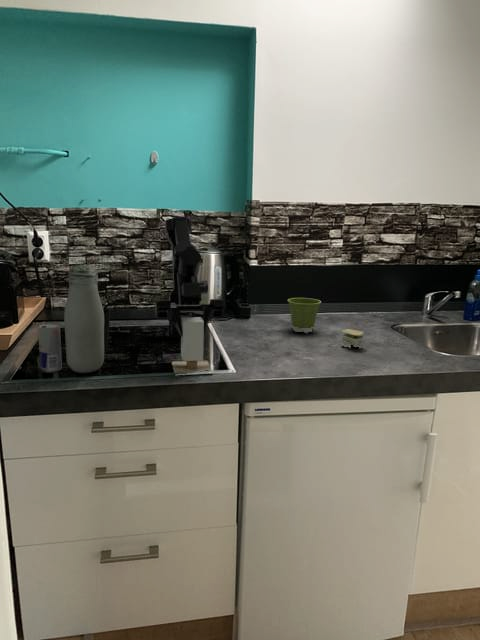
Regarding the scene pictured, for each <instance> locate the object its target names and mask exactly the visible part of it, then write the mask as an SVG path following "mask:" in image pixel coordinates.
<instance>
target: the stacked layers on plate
mask: <svg viewBox="0 0 480 640" xmlns="http://www.w3.org/2000/svg"><path fill="white" fill-rule="evenodd" d="M342 332H343V333H342V334H341V335H340V336H341V337H342V339H341V341H346V342H350V343H351V344H352V345H355V346H356V345H359V343H361V342H363V339H364V331H362V330H361V331H360V330H355V329H351V328H347V329H344V330H342Z"/></svg>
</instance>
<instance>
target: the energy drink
mask: <svg viewBox="0 0 480 640" xmlns="http://www.w3.org/2000/svg"><path fill="white" fill-rule="evenodd" d="M37 333H38V346H39V348H38V349H39V363H40V365H39V366H40V370H41V372H42V373H50V374H51V373H56V372H57V373H58V372H60V371H61V370H62V369H63V363H62V362H63V360H62V359H63V358H62V342H61V339H62V338H61V327H60V325H59V324H58V323H43V324H40V325H38V331H37Z"/></svg>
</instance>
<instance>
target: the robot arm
mask: <svg viewBox="0 0 480 640" xmlns="http://www.w3.org/2000/svg"><path fill="white" fill-rule="evenodd" d="M192 227H193V226H192V220H191V219H189V217H187V216H177V215H176V216H172V217H171V218H168V219H165V222H164V233H165V234H166V237H167V238H166V239H167V241H168V242H169V244H170V246H171V252H172V255H171V257H172V258H171V261H172V262H171V263H172V264H171V265H172V288H173V289H172V292H171V293H170V295H169V298H168V299H157V300H156V301H155V309H154V310H155V312H154V313H155V318H156V319H166V320H167V321H168V334H167V335H166V338H169V337H173V338H172V339H176V338H181V337H182V336H183V330H182V324H181V317H195V313H199V312H200V313H202V317H201V318H202V320H203V321H204V335H205V333H206V330H207V325H208V323H209V321H212V320H213V319H214V318H215V319H216V318H223V317H224V313H225V310H226V302H225V300H224V299H222V298H210V300H209V303H206V304H203V303H202V304H201V302H202V300H203V299H202V296H203V294H208V292H209V283H208V280H200V282H199V280H198V279H199V278H198V275H199V273H200V269H201V265H202V264H204V263H203V261H204V259H203V258H202V254H201V253H200V252H199V251H198V250H197V247H196V246H195V245H194V244H192V242H191V241H192V240H191V236H190V234H191V233H192V232H193V230H192V229H193V228H192Z"/></svg>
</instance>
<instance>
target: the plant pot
mask: <svg viewBox="0 0 480 640" xmlns="http://www.w3.org/2000/svg"><path fill="white" fill-rule="evenodd" d="M287 302H288V305H289V310H290V317H291V326H292V325H293V326H294V327H298V328H311V327H314V328H315V323H316V318H317V314H318V311H319V309H320V304H322V301H321V300H320V299H316V298H310V297H309V298H308V297H291V298H288V299H287Z"/></svg>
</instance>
